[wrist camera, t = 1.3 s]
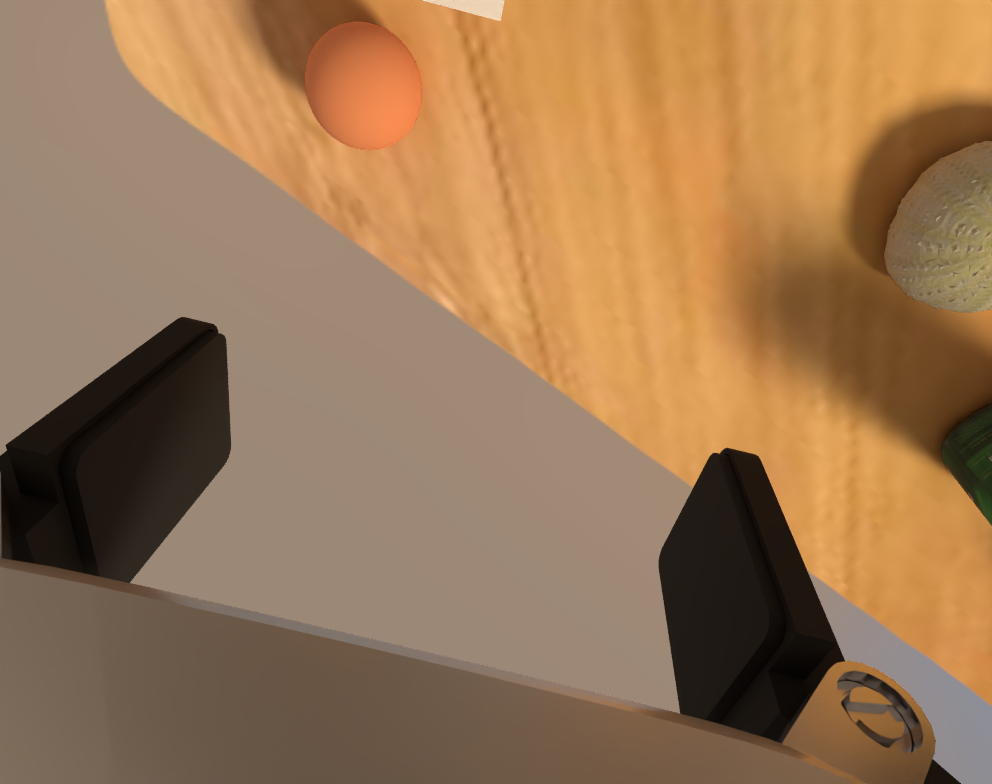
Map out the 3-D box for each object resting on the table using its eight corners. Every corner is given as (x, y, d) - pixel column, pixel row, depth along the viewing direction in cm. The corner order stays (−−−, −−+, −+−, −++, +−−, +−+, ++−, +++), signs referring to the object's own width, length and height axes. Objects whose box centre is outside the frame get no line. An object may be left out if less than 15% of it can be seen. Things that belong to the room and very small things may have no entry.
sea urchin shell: (840, 283, 35) (970, 223, 27) (871, 170, 36) (1002, 82, 28) (973, 344, 35) (1136, 303, 28) (997, 231, 37) (1157, 163, 29)
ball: (333, 7, 32) (285, 7, 27) (441, 36, 32) (413, 41, 27) (327, 124, 35) (283, 143, 30) (424, 150, 35) (397, 173, 30)
